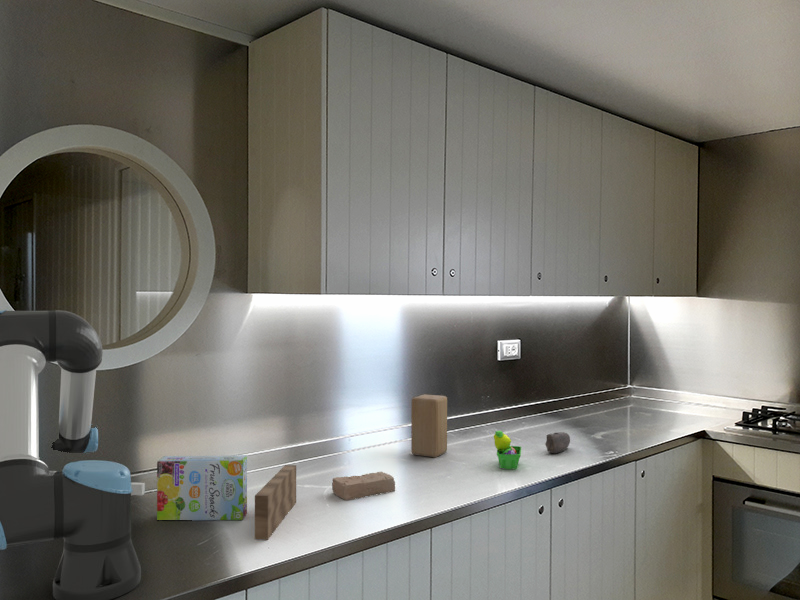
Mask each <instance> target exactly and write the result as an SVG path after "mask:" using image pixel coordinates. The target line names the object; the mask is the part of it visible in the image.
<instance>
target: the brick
mask: <svg viewBox="0 0 800 600" xmlns="http://www.w3.org/2000/svg"><path fill="white" fill-rule="evenodd" d="M331 488H332V489H331V490H332V492H333V494H334V495H336V496H338V497H339V498H340V499H343V500H344V501H345V500H348V501H349V500H355V498H356V499H361V497H363V498H366V497H365V496H368V497H371V496H370V495H373V496H377V495H376V494H378V495H381V494H380V493H384V494H386V492H388V493H391V491H393V492H395V491H396V481H395V478H394V476H393V475H391V474H388V473H386V472H383V471H377V472H369V473H364V474H361V475H350V476H340V477H339V476H338V477H333V478H332V482H331Z"/></svg>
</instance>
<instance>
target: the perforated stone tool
mask: <svg viewBox="0 0 800 600" xmlns="http://www.w3.org/2000/svg"><path fill="white" fill-rule="evenodd" d="M570 443H571V437H570V434H568V433H566V432H565V431H563V432H562V431H558V432H552V433H549V434H546V441H545V444H544V445H545V448H546V450H547V451H546V452H548V453H551V454H558V453H561V452H564V451H565V450H566V449H567V448H568V447H569V446H570Z"/></svg>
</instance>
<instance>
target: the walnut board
mask: <svg viewBox="0 0 800 600" xmlns="http://www.w3.org/2000/svg"><path fill="white" fill-rule="evenodd" d="M295 503H296V504H297V465H295V464H294V465H293V464H292V465H291V464H285V465H284V466H283V467H282V468H280V470H279V471H277V472H276V474H275V475H274V476H273V477H271V479H270V480H269V481H267V483H266V484H265V485H264V486H262V488H261V489H259V491H257V493H256V494H254V540H255V539H266V540H265V541H268V540H269V539H270V538H271V537H272V535H273V534H274V532H275V531H276V530H277V529H278V528H279V526H280V525H281V524H282V522H283V521H284V520H285V518H286V517H285V516H287V515H288V514H289V513H290V511H291V510H292V509H293V507H294V506H295V505H296V504H295ZM288 512H289V513H288ZM282 520H283V521H282ZM279 524H280V525H279ZM276 528H277V529H276ZM272 533H273V534H272ZM269 537H270V538H269Z"/></svg>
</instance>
